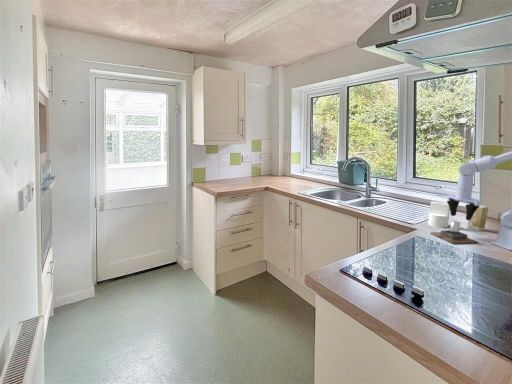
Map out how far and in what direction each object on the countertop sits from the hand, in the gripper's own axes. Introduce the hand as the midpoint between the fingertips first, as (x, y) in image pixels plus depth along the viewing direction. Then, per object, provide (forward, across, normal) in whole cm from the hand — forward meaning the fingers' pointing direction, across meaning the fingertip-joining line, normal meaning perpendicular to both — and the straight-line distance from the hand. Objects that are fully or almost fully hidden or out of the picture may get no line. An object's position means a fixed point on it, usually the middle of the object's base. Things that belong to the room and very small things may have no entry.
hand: (460, 217), depth 140 cm
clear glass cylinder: (+8, -2, +5) cm, 10 cm away
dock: (+9, -2, +5) cm, 11 cm away
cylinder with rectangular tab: (+9, +17, -7) cm, 21 cm away
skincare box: (+9, +7, -20) cm, 24 cm away
